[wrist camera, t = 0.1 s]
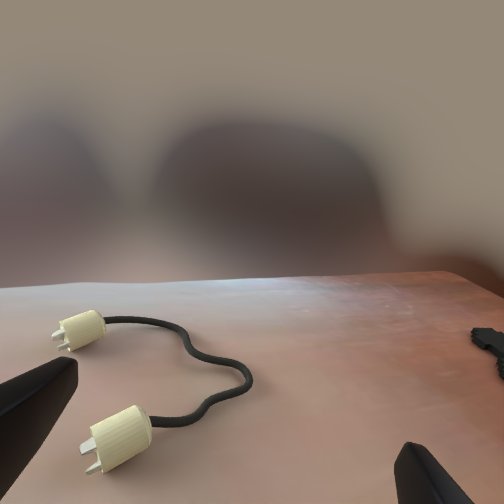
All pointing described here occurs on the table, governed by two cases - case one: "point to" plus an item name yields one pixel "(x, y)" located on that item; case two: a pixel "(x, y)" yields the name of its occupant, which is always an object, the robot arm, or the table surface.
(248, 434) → the table surface
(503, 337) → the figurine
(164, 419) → the cable
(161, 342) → the table surface
